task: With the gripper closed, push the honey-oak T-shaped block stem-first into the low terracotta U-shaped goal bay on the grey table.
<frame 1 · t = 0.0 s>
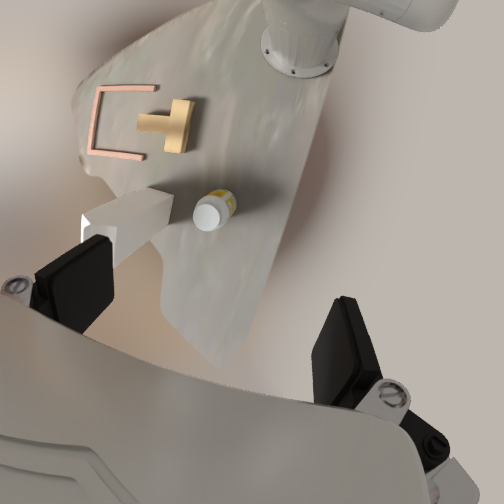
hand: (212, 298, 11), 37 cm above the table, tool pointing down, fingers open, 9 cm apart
goal bay: (122, 121, 43), on the table
milk: (157, 205, 49), on the table
t block: (166, 124, 43), on the table
supplement bottle: (221, 203, 47), on the table
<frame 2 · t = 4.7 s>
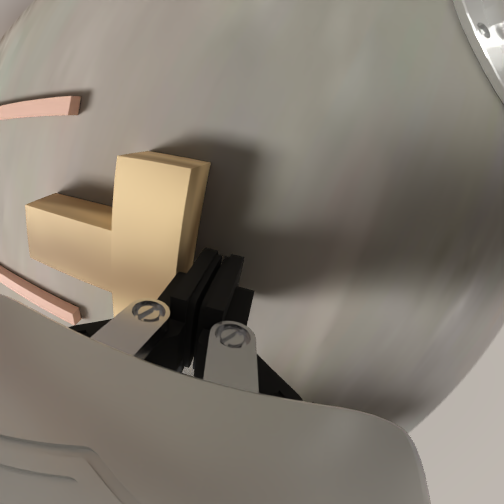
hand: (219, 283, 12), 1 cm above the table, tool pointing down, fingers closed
goal bay: (16, 205, 13), on the table
t block: (113, 235, 13), on the table, touching gripper
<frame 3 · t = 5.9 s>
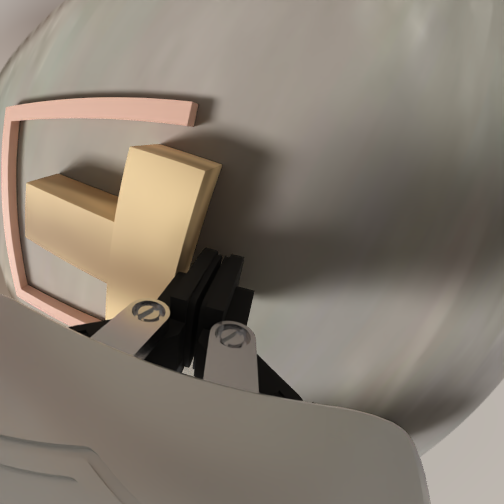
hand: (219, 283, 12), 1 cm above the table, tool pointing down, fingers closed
goal bay: (78, 228, 13), on the table
t block: (113, 224, 13), on the table, touching gripper
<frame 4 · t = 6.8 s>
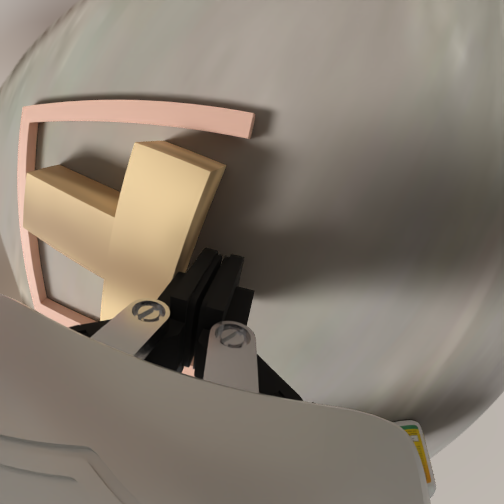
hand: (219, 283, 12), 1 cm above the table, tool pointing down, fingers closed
goal bay: (112, 241, 13), on the table
t block: (112, 219, 12), on the table, touching gripper
supplement bottle: (390, 432, 17), on the table
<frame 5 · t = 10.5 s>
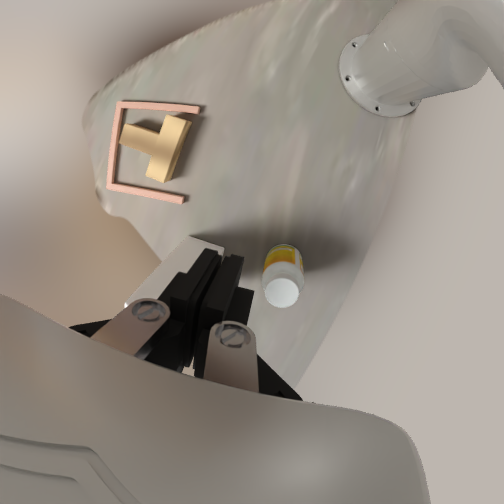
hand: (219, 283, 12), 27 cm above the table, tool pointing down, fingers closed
goal bay: (153, 149, 36), on the table
milk: (202, 258, 42), on the table
t block: (154, 141, 36), on the table
supplement bottle: (283, 259, 41), on the table
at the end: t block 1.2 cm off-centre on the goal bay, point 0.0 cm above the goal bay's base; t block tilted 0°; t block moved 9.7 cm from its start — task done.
